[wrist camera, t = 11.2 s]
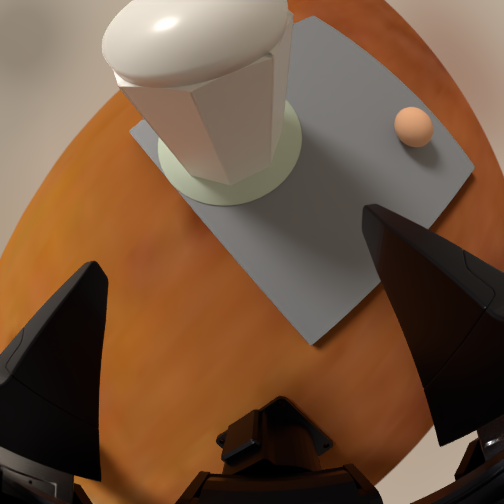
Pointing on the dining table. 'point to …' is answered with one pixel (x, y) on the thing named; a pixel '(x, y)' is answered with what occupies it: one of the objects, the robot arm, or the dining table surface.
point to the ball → (413, 127)
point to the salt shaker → (206, 78)
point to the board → (323, 181)
